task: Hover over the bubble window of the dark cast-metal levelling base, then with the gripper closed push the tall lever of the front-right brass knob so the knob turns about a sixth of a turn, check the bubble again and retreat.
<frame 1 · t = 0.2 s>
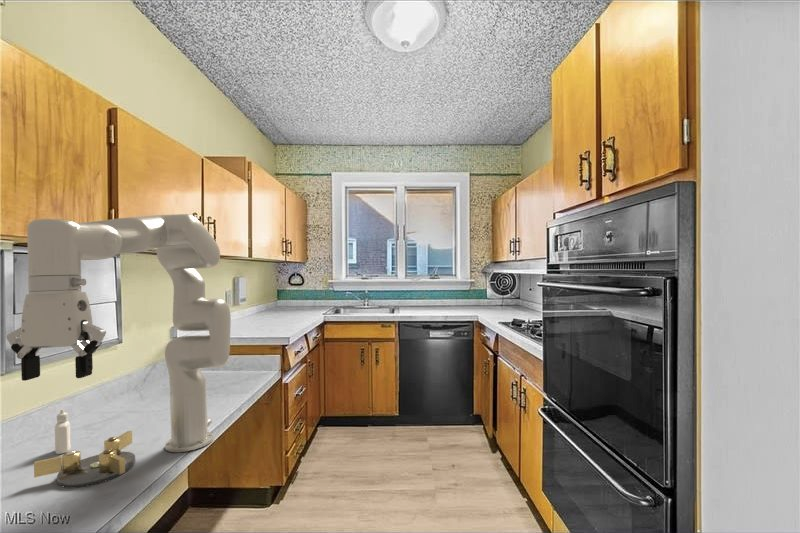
hand: (57, 377, 75), 31 cm above the counter, tool pointing down, fingers open, 9 cm apart
eye dropper bottle: (63, 451, 117), on the counter
knob c: (58, 463, 100), point 4 cm above the counter, hinge at 0.0°
knob a: (113, 461, 100), point 4 cm above the counter, hinge at 0.0°
levelling base: (98, 471, 104), on the counter
knob b: (119, 442, 112), point 4 cm above the counter, hinge at 0.0°
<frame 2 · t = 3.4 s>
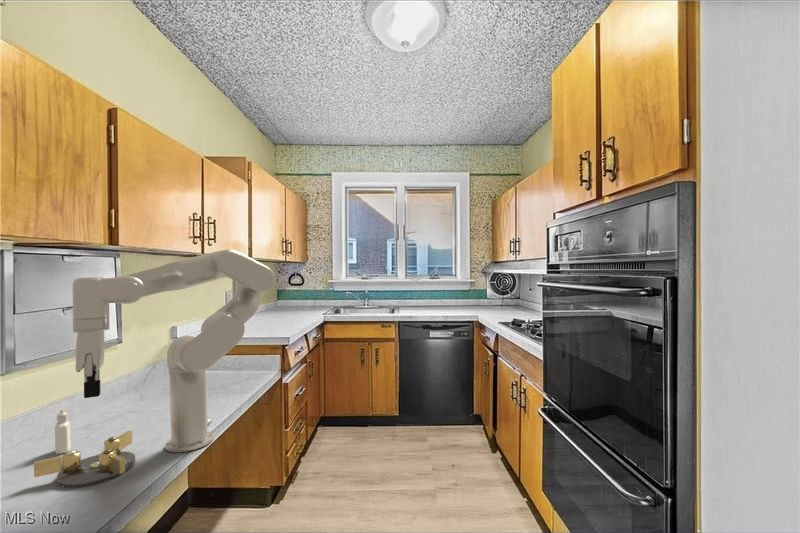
hand: (92, 396, 104), 19 cm above the counter, tool pointing down, fingers closed
nothing on the counter moved.
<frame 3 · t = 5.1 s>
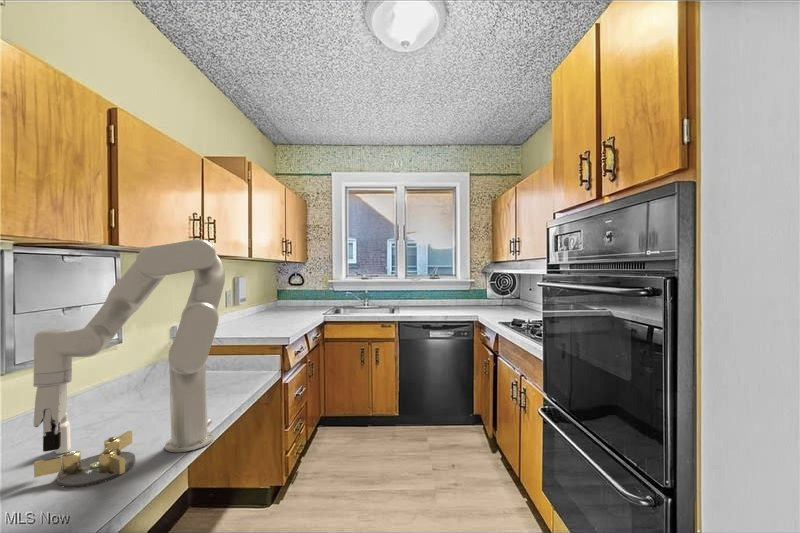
hand: (51, 449, 104), 6 cm above the counter, tool pointing down, fingers closed
nothing on the counter moved.
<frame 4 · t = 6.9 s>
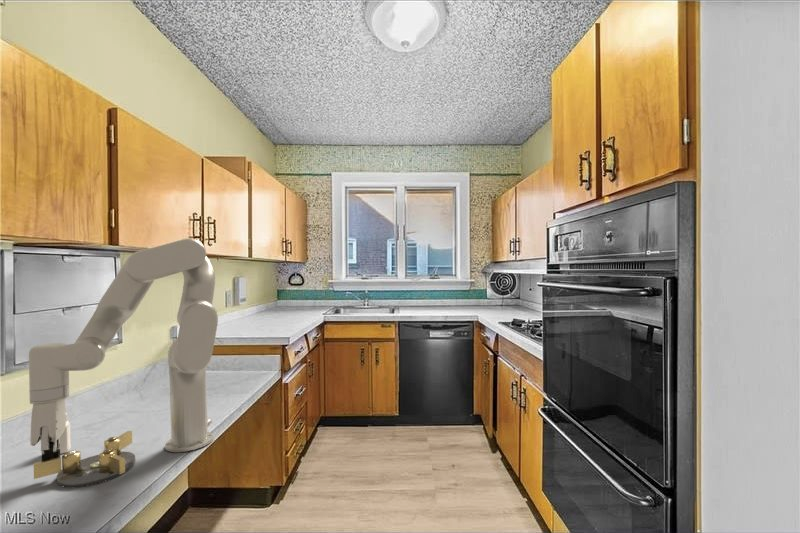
hand: (51, 467, 101), 3 cm above the counter, tool pointing down, fingers closed
knob c: (57, 464, 99), point 4 cm above the counter, hinge at 8.9°, touching gripper
everything else where it was.
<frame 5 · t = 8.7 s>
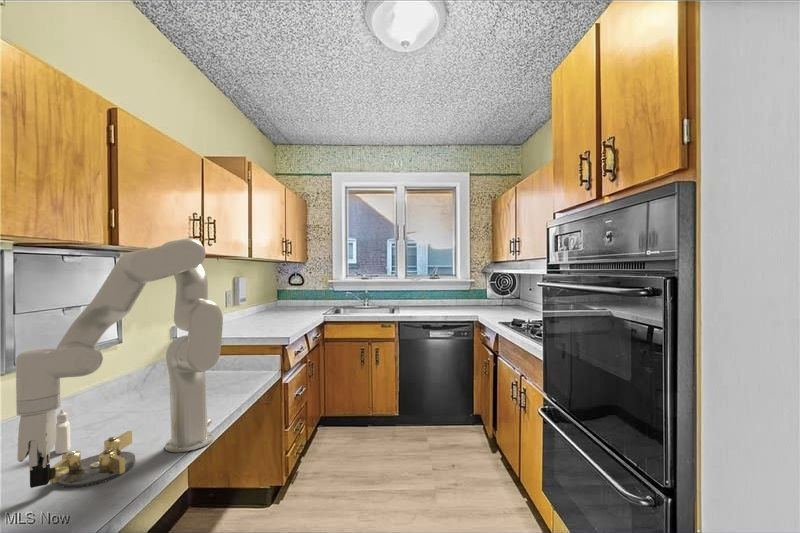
hand: (40, 484, 92), 3 cm above the counter, tool pointing down, fingers closed
knob c: (64, 465, 98), point 4 cm above the counter, hinge at 70.7°, touching gripper
everything else where it was.
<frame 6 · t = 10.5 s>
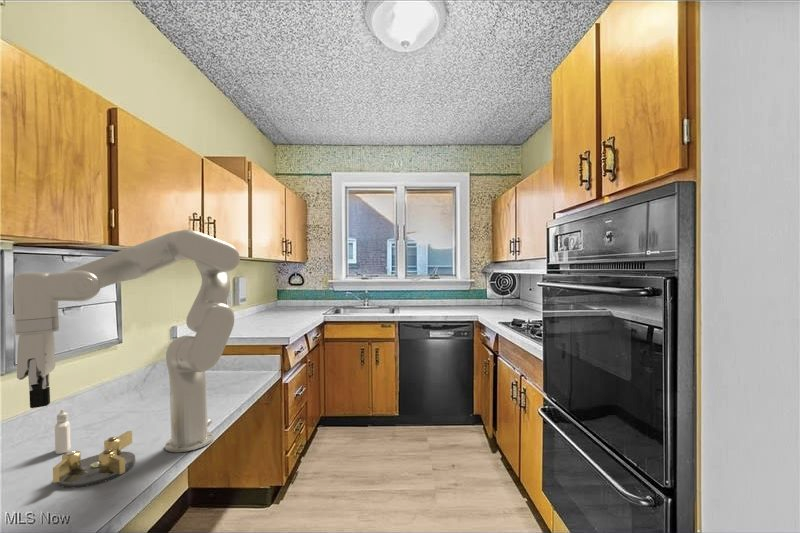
hand: (40, 405, 92), 21 cm above the counter, tool pointing down, fingers closed
knob c: (66, 465, 99), point 4 cm above the counter, hinge at 75.9°
everything else where it was.
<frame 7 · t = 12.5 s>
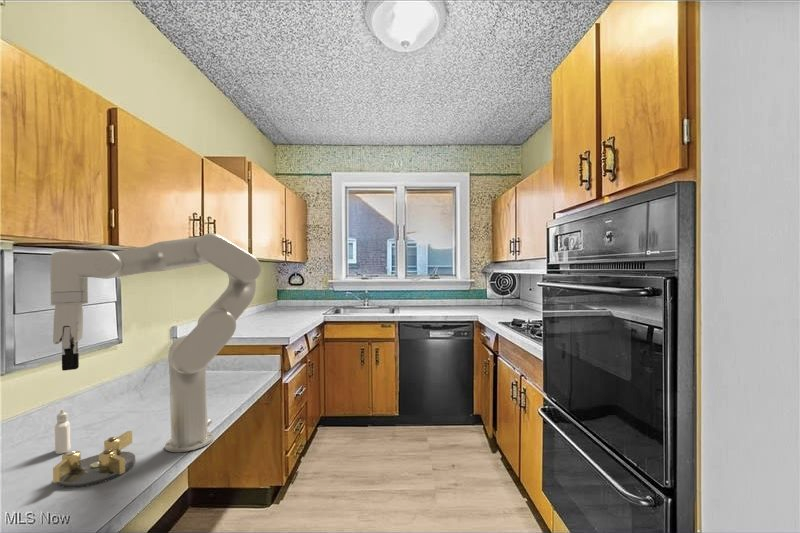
hand: (70, 369, 105), 26 cm above the counter, tool pointing down, fingers closed
nothing on the counter moved.
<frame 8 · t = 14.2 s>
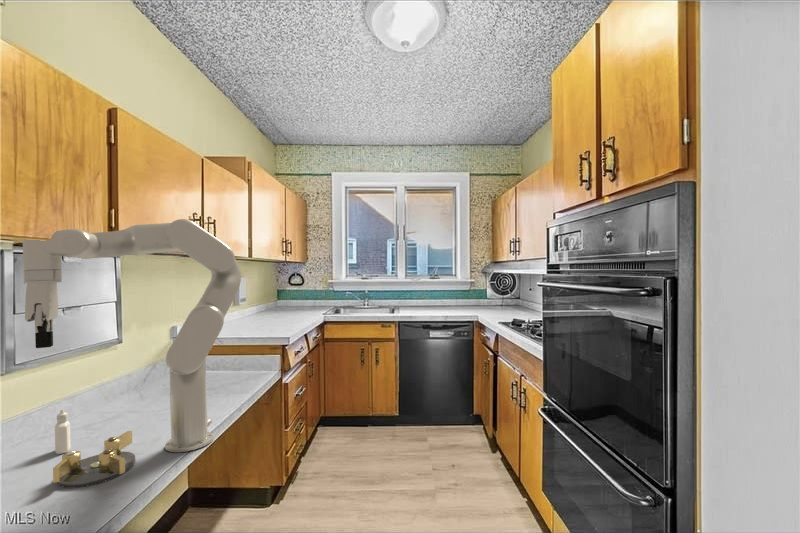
hand: (44, 347, 106), 32 cm above the counter, tool pointing down, fingers closed
nothing on the counter moved.
at the end: knob c at +76° (first picture: +0°); knob b at +0° (first picture: +0°) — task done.
